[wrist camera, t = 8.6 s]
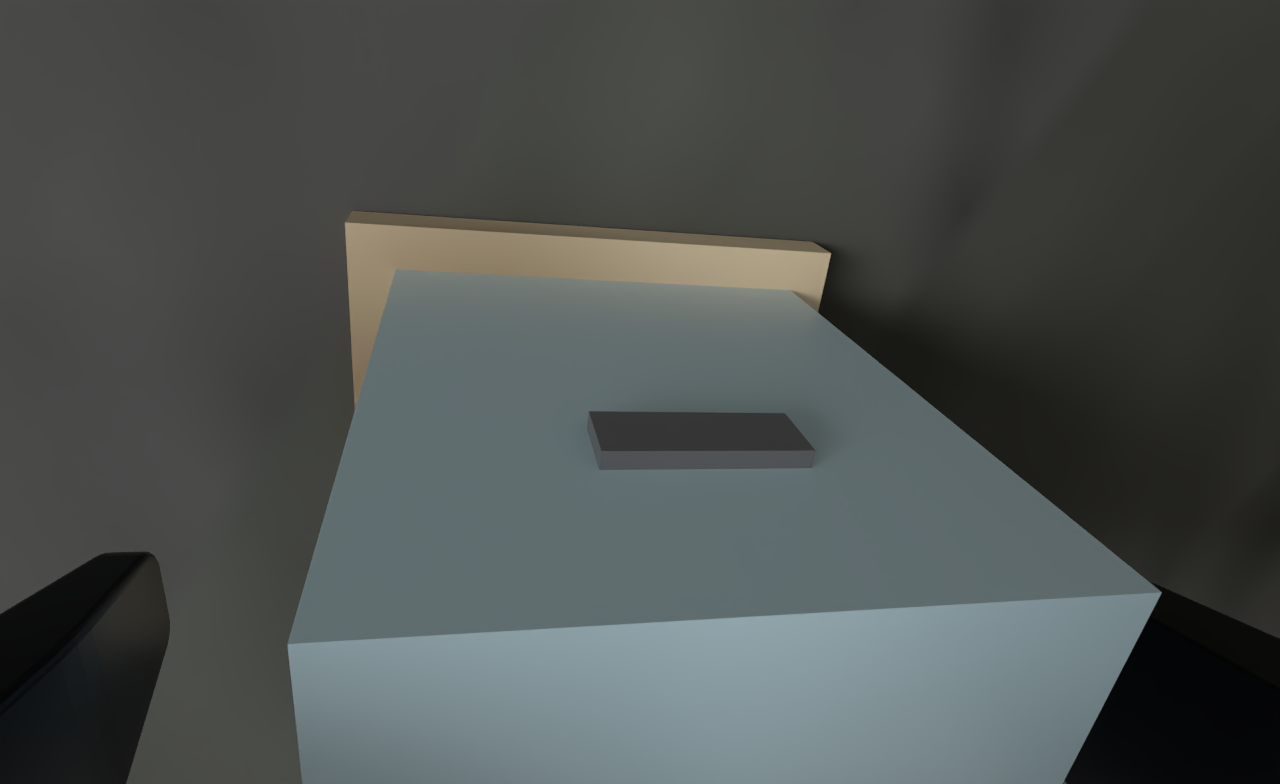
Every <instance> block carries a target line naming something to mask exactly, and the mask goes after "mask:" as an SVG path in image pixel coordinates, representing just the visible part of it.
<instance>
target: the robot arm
mask: <svg viewBox="0 0 1280 784" xmlns="http://www.w3.org/2000/svg"><path fill="white" fill-rule="evenodd" d="M1148 582H1150V581H1148ZM1150 583H1151V584H1152V585H1153V586H1155V587H1156V588H1157V589H1158V590H1160V591H1161V592H1162V593H1161V595H1160V597H1159V599H1158V601H1157V603H1156V605H1155V607H1154V609H1153V611H1152V613H1151V614H1150V616H1149V618H1148V620H1147V622H1146V624H1145V626H1144V628H1143V630H1142V632H1141V634H1140V636H1139V638H1138V639H1137V641H1136V643H1135V645H1134V647H1133V649H1132V651H1131V653H1130V655H1129V657H1128V659H1127V661H1126V663H1125V665H1124V666H1123V668H1122V670H1121V672H1120V674H1119V676H1118V678H1117V680H1116V682H1115V684H1114V686H1113V688H1112V690H1111V691H1110V693H1109V695H1108V697H1107V699H1106V701H1105V703H1104V705H1103V707H1102V709H1101V711H1100V713H1099V715H1098V717H1097V718H1096V720H1095V722H1094V724H1093V726H1092V728H1091V730H1090V732H1089V734H1088V736H1087V738H1086V740H1085V742H1084V743H1083V745H1082V747H1081V749H1080V751H1079V753H1078V755H1077V757H1076V759H1075V761H1074V763H1073V765H1072V767H1071V769H1070V770H1069V772H1068V774H1067V776H1066V778H1065V780H1064V781H1065V783H1066V784H1280V639H1279V638H1277V637H1274V636H1272V635H1270V634H1267V633H1265V632H1263V631H1261V630H1258V629H1256V628H1254V627H1252V626H1249V625H1247V624H1245V623H1243V622H1240V621H1238V620H1236V619H1233V618H1231V617H1229V616H1227V615H1224V614H1222V613H1220V612H1218V611H1215V610H1213V609H1211V608H1209V607H1206V606H1204V605H1202V604H1199V603H1197V602H1195V601H1193V600H1190V599H1188V598H1186V597H1184V596H1181V595H1179V594H1177V593H1175V592H1172V591H1170V590H1168V589H1165V588H1163V587H1161V586H1159V585H1156V584H1154V583H1152V582H1150ZM169 632H170V620H169V614H168V609H167V603H166V598H165V593H164V588H163V583H162V578H161V572H160V567H159V564H158V561H157V559H156V558H155V556H154V555H152V554H151V553H149V552H114V553H104V554H100V555H99V556H97V557H95V558H93V559H91V560H90V561H88V562H86V563H85V564H83V565H81V566H80V567H78V568H76V569H75V570H73V571H71V572H70V573H68V574H66V575H65V576H63V577H61V578H60V579H58V580H56V581H55V582H53V583H51V584H50V585H48V586H46V587H45V588H43V589H41V590H40V591H38V592H36V593H35V594H33V595H31V596H30V597H28V598H26V599H25V600H23V601H21V602H20V603H18V604H16V605H15V606H13V607H11V608H10V609H8V610H6V611H5V612H3V613H1V614H0V784H126V782H127V779H128V776H129V773H130V769H131V766H132V763H133V759H134V756H135V752H136V749H137V746H138V742H139V739H140V736H141V732H142V729H143V726H144V722H145V719H146V716H147V712H148V709H149V705H150V702H151V699H152V695H153V692H154V689H155V685H156V682H157V679H158V675H159V672H160V669H161V665H162V662H163V658H164V655H165V652H166V648H167V645H168V640H169Z"/></svg>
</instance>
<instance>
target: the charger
mask: <svg viewBox="0 0 1280 784" xmlns="http://www.w3.org/2000/svg"><path fill="white" fill-rule="evenodd" d="M1161 593H1162V592H1161V591H1160V590H1158V589H1157V588H1156V587H1155V586H1153V585H1152V584H1151V583H1150V582H1148V581H1147V580H1146V579H1145V578H1144V577H1142V576H1141V575H1140V574H1139V573H1137V572H1136V571H1135V570H1134V569H1133V568H1131V567H1130V566H1129V565H1128V564H1126V563H1125V562H1124V561H1123V560H1121V559H1120V558H1119V557H1118V556H1117V555H1115V554H1114V553H1113V552H1112V551H1110V550H1109V549H1108V548H1107V547H1105V546H1104V545H1103V544H1102V543H1101V542H1099V541H1098V540H1097V539H1096V538H1094V537H1093V536H1092V535H1091V534H1089V533H1088V532H1087V531H1086V530H1085V529H1083V528H1082V527H1081V526H1080V525H1078V524H1077V523H1076V522H1075V521H1073V520H1072V519H1071V518H1070V517H1069V516H1067V515H1066V514H1065V513H1064V512H1062V511H1061V510H1060V509H1059V508H1057V507H1056V506H1055V505H1054V504H1053V503H1051V502H1050V501H1049V500H1048V499H1046V498H1045V497H1044V496H1043V495H1042V494H1040V493H1039V492H1038V491H1037V490H1035V489H1034V488H1033V487H1032V486H1030V485H1029V484H1028V483H1027V482H1026V481H1024V480H1023V479H1022V478H1021V477H1019V476H1018V475H1017V474H1016V473H1014V472H1013V471H1012V470H1011V469H1010V468H1008V467H1007V466H1006V465H1005V464H1003V463H1002V462H1001V461H1000V460H998V459H997V458H996V457H995V456H994V455H992V454H991V453H990V452H989V451H987V450H986V449H985V448H984V447H982V446H981V445H980V444H979V443H978V442H976V441H975V440H974V439H973V438H971V437H970V436H969V435H968V434H966V433H965V432H964V431H963V430H962V429H960V428H959V427H958V426H957V425H955V424H954V423H953V422H952V421H951V420H949V419H948V418H947V417H946V416H944V415H943V414H942V413H941V412H939V411H938V410H937V409H936V408H935V407H933V406H932V405H931V404H930V403H928V402H927V401H926V400H925V399H923V398H922V397H921V396H920V395H919V394H917V393H916V392H915V391H914V390H912V389H911V388H910V387H909V386H907V385H906V384H905V383H904V382H903V381H901V380H900V379H899V378H898V377H896V376H895V375H894V374H893V373H891V372H890V371H889V370H888V369H887V368H885V367H884V366H883V365H882V364H880V363H879V362H878V361H877V360H875V359H874V358H873V357H872V356H871V355H869V354H868V353H867V352H866V351H864V350H863V349H862V348H861V347H860V346H858V345H857V344H856V343H855V342H853V341H852V340H851V339H850V338H848V337H847V336H846V335H845V334H844V333H842V332H841V331H840V330H839V329H837V328H836V327H835V326H834V325H832V324H831V323H830V322H829V321H828V320H826V319H825V318H824V317H823V316H821V315H820V314H819V313H818V312H816V311H815V310H814V309H813V308H812V307H810V306H809V305H808V304H807V303H805V302H804V301H803V300H802V299H800V298H799V297H798V296H797V295H796V294H794V293H793V292H792V291H791V290H777V289H758V288H739V287H720V286H701V285H682V284H663V283H644V282H625V281H606V280H587V279H568V278H549V277H530V276H511V275H492V274H473V273H454V272H435V271H416V270H395V273H394V277H393V280H392V284H391V287H390V291H389V294H388V298H387V301H386V304H385V308H384V311H383V315H382V318H381V322H380V325H379V329H378V332H377V336H376V339H375V343H374V346H373V349H372V353H371V356H370V360H369V363H368V367H367V370H366V374H365V377H364V381H363V384H362V388H361V391H360V394H359V398H358V401H357V405H356V408H355V412H354V415H353V419H352V422H351V426H350V429H349V433H348V436H347V439H346V443H345V446H344V450H343V453H342V457H341V460H340V464H339V467H338V471H337V474H336V478H335V481H334V485H333V488H332V491H331V495H330V498H329V502H328V505H327V509H326V512H325V516H324V519H323V523H322V526H321V530H320V533H319V536H318V540H317V543H316V547H315V550H314V554H313V557H312V561H311V564H310V568H309V571H308V575H307V578H306V581H305V585H304V588H303V592H302V595H301V599H300V602H299V606H298V609H297V613H296V616H295V620H294V623H293V627H292V630H291V633H290V637H289V640H288V644H287V645H288V654H289V664H290V673H291V682H292V691H293V701H294V710H295V719H296V728H297V738H298V747H299V756H300V766H301V775H302V784H1063V782H1064V780H1065V778H1066V776H1067V774H1068V772H1069V770H1070V769H1071V767H1072V765H1073V763H1074V761H1075V759H1076V757H1077V755H1078V753H1079V751H1080V749H1081V747H1082V745H1083V743H1084V742H1085V740H1086V738H1087V736H1088V734H1089V732H1090V730H1091V728H1092V726H1093V724H1094V722H1095V720H1096V718H1097V717H1098V715H1099V713H1100V711H1101V709H1102V707H1103V705H1104V703H1105V701H1106V699H1107V697H1108V695H1109V693H1110V691H1111V690H1112V688H1113V686H1114V684H1115V682H1116V680H1117V678H1118V676H1119V674H1120V672H1121V670H1122V668H1123V666H1124V665H1125V663H1126V661H1127V659H1128V657H1129V655H1130V653H1131V651H1132V649H1133V647H1134V645H1135V643H1136V641H1137V639H1138V638H1139V636H1140V634H1141V632H1142V630H1143V628H1144V626H1145V624H1146V622H1147V620H1148V618H1149V616H1150V614H1151V613H1152V611H1153V609H1154V607H1155V605H1156V603H1157V601H1158V599H1159V597H1160V595H1161Z"/></svg>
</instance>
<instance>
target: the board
mask: <svg viewBox="0 0 1280 784" xmlns="http://www.w3.org/2000/svg"><path fill="white" fill-rule="evenodd" d="M345 231H346V250H347V269H348V288H349V307H350V326H351V345H352V365H353V384H354V403H355V408H356V405H357V401H358V398H359V394H360V391H361V388H362V384H363V381H364V377H365V374H366V370H367V367H368V363H369V360H370V356H371V353H372V349H373V346H374V343H375V339H376V336H377V332H378V329H379V325H380V322H381V318H382V315H383V311H384V308H385V304H386V301H387V298H388V294H389V291H390V287H391V284H392V280H393V277H394V273H395V270H416V271H435V272H454V273H473V274H492V275H511V276H530V277H549V278H568V279H587V280H606V281H625V282H644V283H663V284H682V285H701V286H720V287H739V288H758V289H777V290H791V291H792V292H793V293H794V294H796V295H797V296H798V297H799V298H800V299H802V300H803V301H804V302H805V303H807V304H808V305H809V306H810V307H812V308H813V309H814V310H815V311H816V312H818V310H819V306H820V301H821V297H822V292H823V288H824V283H825V279H826V275H827V270H828V266H829V261H830V257H831V253H830V252H828V251H827V250H825V249H823V248H822V247H820V246H819V245H817V244H815V243H814V242H809V241H794V240H779V239H764V238H749V237H734V236H720V235H705V234H690V233H675V232H660V231H645V230H630V229H615V228H600V227H585V226H571V225H556V224H541V223H526V222H511V221H496V220H481V219H466V218H451V217H436V216H422V215H407V214H392V213H377V212H362V211H352V212H351V214H350V215H349V217H348V219H347V220H346V222H345Z"/></svg>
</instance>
